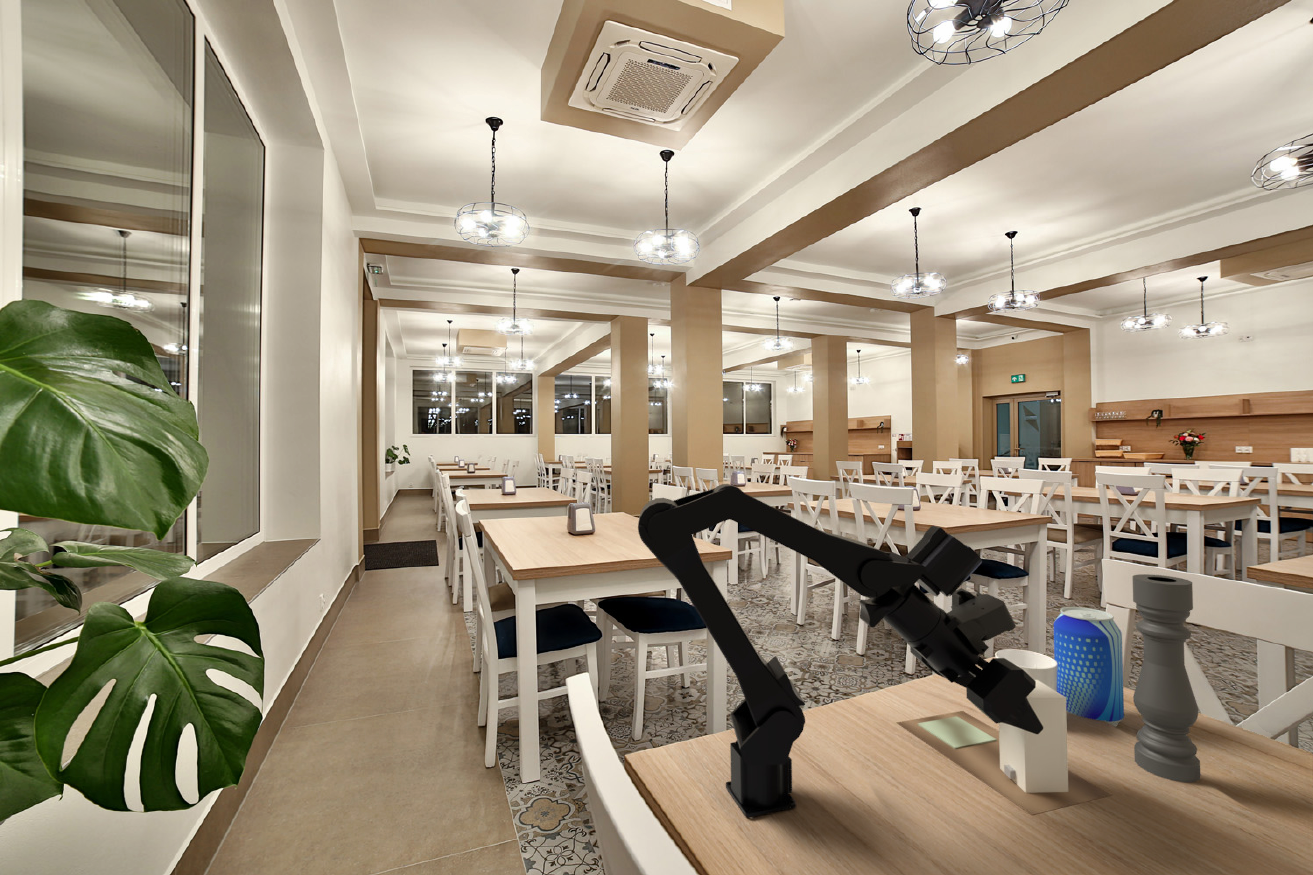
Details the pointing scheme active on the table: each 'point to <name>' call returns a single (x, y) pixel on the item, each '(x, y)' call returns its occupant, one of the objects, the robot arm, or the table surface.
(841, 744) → the table surface
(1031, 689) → the robot arm
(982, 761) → the board
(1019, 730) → the tall white prism
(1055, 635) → the beer can
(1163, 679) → the candle holder
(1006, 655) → the white cup
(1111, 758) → the table surface
